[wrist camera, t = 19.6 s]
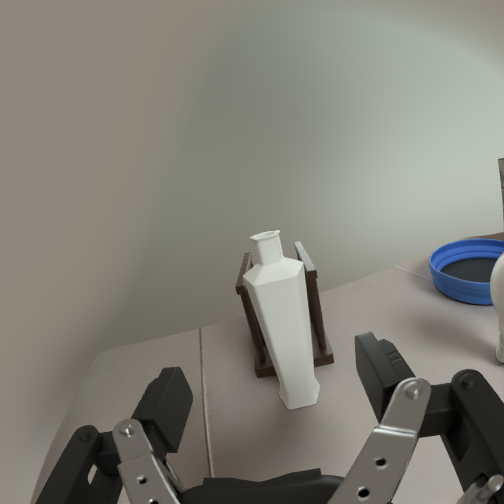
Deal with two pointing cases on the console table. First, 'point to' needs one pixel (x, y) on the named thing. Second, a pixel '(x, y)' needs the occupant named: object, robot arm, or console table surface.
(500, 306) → the lightbulb
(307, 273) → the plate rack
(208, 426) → the console table surface
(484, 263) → the bowl
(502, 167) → the planter
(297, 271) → the perfume bottle
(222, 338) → the console table surface
